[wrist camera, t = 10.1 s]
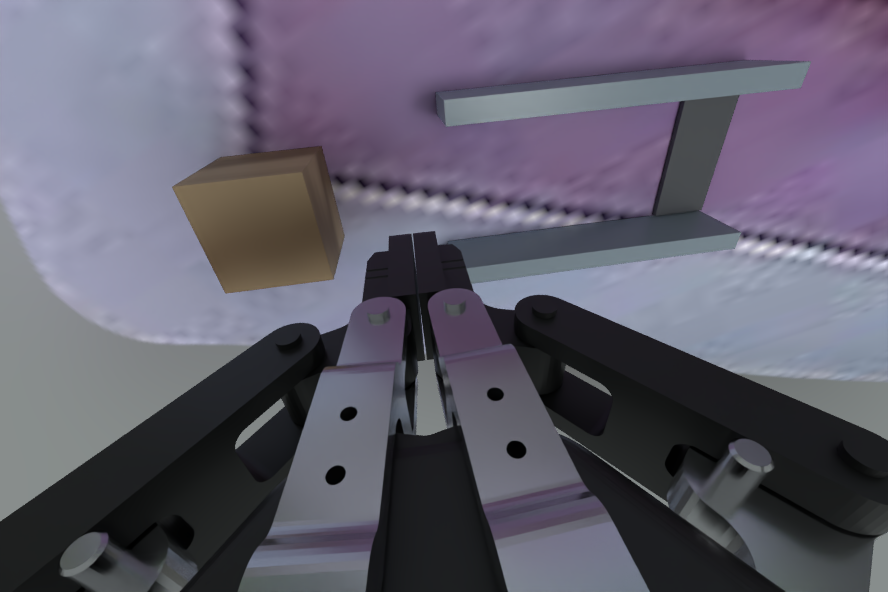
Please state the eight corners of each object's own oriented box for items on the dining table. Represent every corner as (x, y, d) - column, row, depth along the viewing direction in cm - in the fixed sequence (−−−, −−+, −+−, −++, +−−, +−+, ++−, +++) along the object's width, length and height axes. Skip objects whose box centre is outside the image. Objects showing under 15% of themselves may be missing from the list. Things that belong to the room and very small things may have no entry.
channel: (435, 92, 18) (444, 100, 15) (746, 60, 19) (811, 61, 16) (448, 255, 23) (457, 285, 20) (692, 224, 24) (734, 248, 21)
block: (221, 156, 18) (171, 186, 14) (321, 145, 19) (301, 172, 14) (257, 246, 21) (225, 293, 17) (344, 235, 21) (333, 279, 17)
